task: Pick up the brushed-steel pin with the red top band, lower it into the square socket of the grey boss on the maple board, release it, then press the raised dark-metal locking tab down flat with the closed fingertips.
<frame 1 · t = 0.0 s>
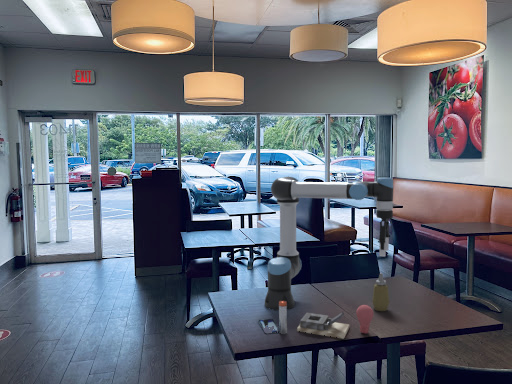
hand: (384, 253, 199), 28 cm above the table, fingers open, 13 cm apart
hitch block: (323, 329, 179), on the table
light bulb: (364, 333, 175), on the table
smartphone: (269, 327, 182), on the table
squeeze bottle: (380, 309, 202), on the table
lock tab: (334, 319, 176), point 5 cm above the table, hinge at 40.0°
pin: (283, 332, 175), on the table
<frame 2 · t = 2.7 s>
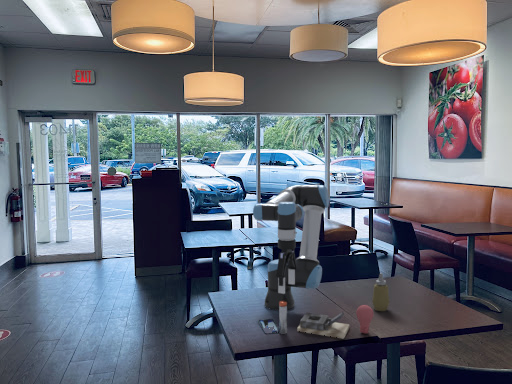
hand: (286, 288, 174), 19 cm above the table, fingers open, 13 cm apart
nothing on the table moved.
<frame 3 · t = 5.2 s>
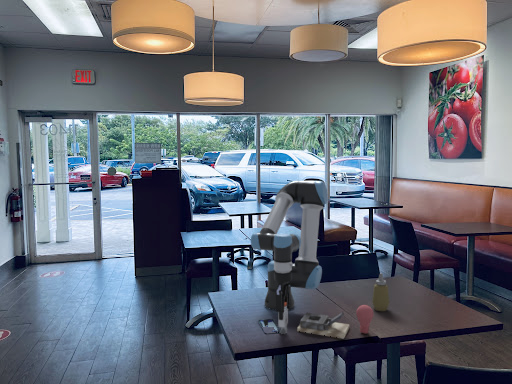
hand: (283, 324, 175), 4 cm above the table, fingers closed on pin, 3 cm apart
pin: (283, 332, 175), on the table, touching gripper
everything else where it was.
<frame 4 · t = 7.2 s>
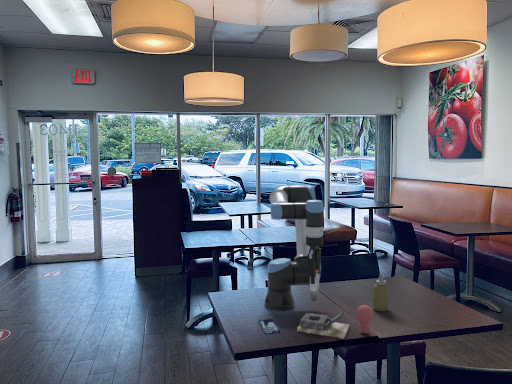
hand: (314, 289, 179), 17 cm above the table, fingers closed on pin, 3 cm apart
pin: (314, 300, 179), point 13 cm above the table, touching gripper
everything else where it was.
when the fingers open (7 cm above the table, at t = 9.2 s): pin stays where it is, resting on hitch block.
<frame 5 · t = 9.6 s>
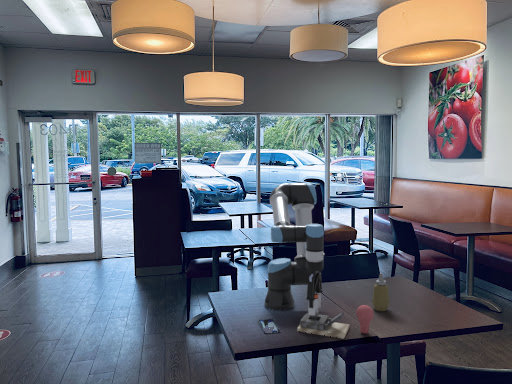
hand: (314, 310, 180), 8 cm above the table, fingers open, 9 cm apart
pin: (314, 324, 180), point 2 cm above the table, touching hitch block
everything else where it was.
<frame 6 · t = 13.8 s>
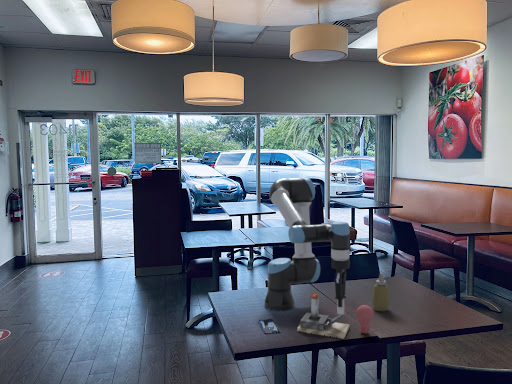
hand: (340, 313, 175), 8 cm above the table, fingers closed
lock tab: (334, 320, 176), point 5 cm above the table, hinge at 37.8°, touching gripper
everything else where it was.
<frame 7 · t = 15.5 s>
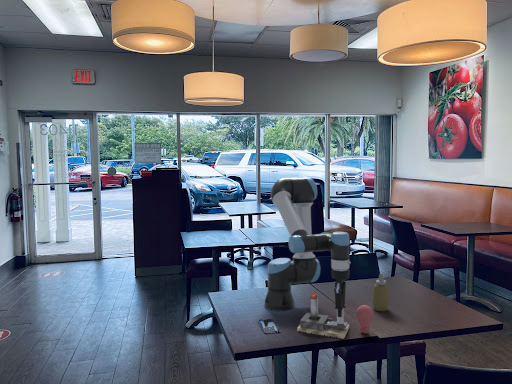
hand: (340, 323, 175), 4 cm above the table, fingers closed
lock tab: (336, 324, 176), point 3 cm above the table, hinge at 5.5°, touching gripper
everything else where it was.
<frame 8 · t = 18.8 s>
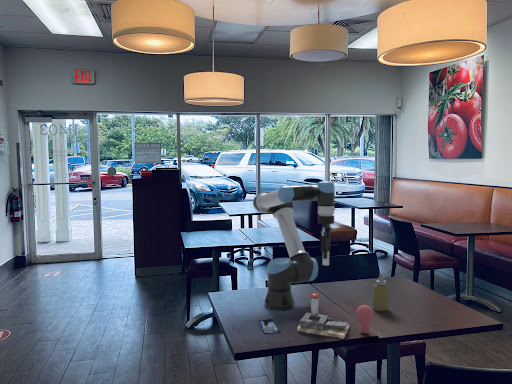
hand: (325, 264, 193), 24 cm above the table, fingers closed
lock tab: (336, 324, 176), point 3 cm above the table, hinge at 5.3°
everything else where it was.
at the end: pin 0.0 cm from the target spot on the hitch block, point 1.5 cm above the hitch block's base; pin tilted 1°; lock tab at +5° (first picture: +40°) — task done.
